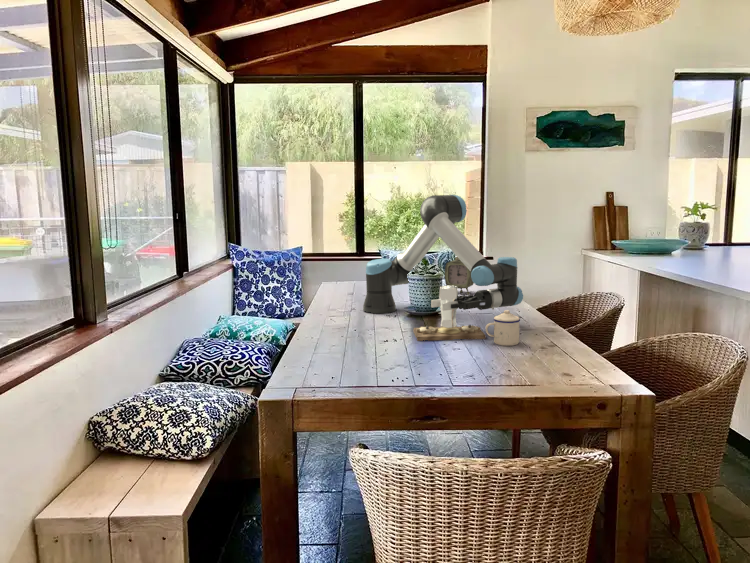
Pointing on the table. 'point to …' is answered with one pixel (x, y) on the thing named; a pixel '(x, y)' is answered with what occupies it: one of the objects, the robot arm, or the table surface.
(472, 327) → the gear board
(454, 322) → the beer glass
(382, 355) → the table surface
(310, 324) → the table surface
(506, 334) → the teacup with lid
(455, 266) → the tabletop clock
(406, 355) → the table surface
